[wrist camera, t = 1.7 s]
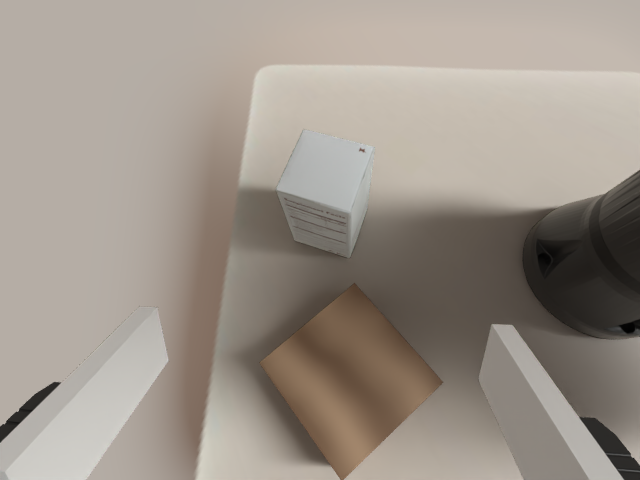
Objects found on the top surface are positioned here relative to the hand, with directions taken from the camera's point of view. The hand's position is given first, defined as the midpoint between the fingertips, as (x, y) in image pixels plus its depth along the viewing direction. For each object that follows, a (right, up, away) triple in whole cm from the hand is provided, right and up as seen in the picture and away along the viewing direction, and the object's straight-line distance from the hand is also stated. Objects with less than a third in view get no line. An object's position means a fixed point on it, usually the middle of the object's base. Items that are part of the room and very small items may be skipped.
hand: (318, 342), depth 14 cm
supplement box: (+1, +6, +29) cm, 30 cm away
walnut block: (+3, -10, +22) cm, 25 cm away
